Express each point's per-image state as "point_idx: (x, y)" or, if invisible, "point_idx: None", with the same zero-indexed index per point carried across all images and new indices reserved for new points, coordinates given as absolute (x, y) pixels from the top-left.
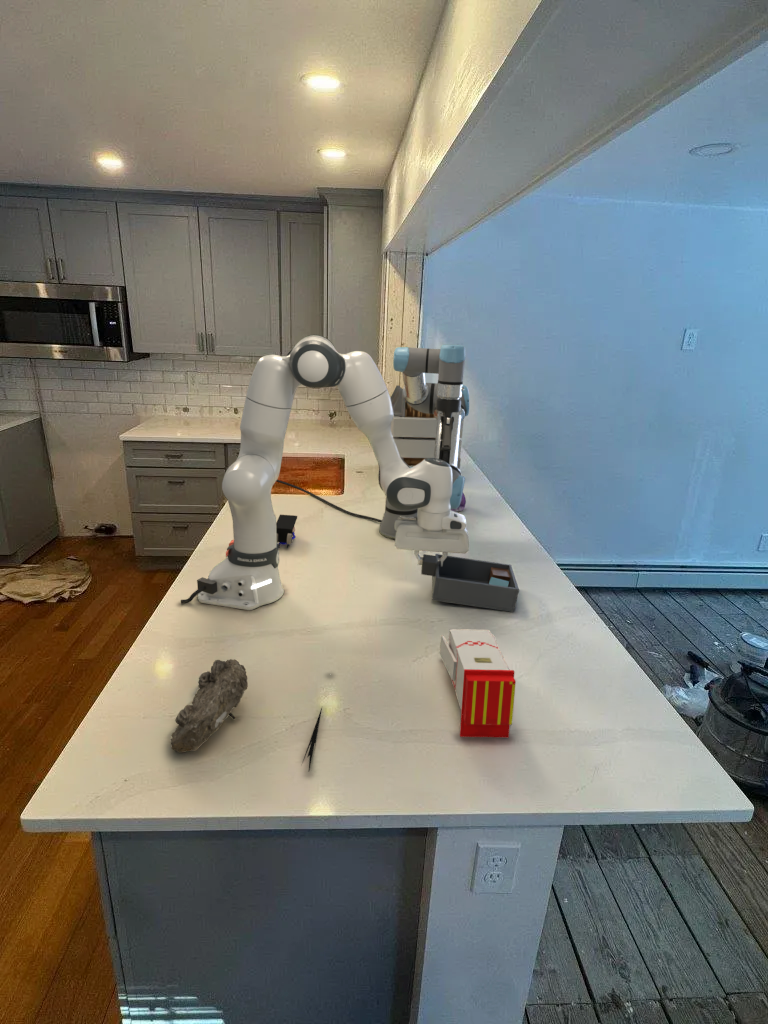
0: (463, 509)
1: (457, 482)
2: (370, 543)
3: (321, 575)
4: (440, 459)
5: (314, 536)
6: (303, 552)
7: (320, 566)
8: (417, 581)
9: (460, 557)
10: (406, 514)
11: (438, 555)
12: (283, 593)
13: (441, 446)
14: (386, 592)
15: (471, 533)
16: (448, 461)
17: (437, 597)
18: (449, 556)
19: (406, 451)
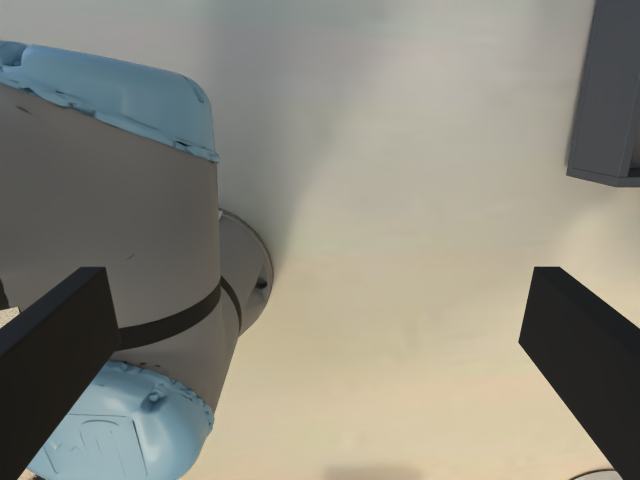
0: None
1: (130, 107)
2: (311, 345)
3: (519, 422)
4: (593, 431)
5: (293, 466)
6: (394, 471)
7: (470, 430)
8: (561, 211)
9: (637, 89)
10: (236, 297)
11: (626, 176)
12: (608, 471)
13: (17, 452)
14: (619, 285)
15: (128, 5)
16: (637, 338)
17: None
18: (633, 134)
19: None
